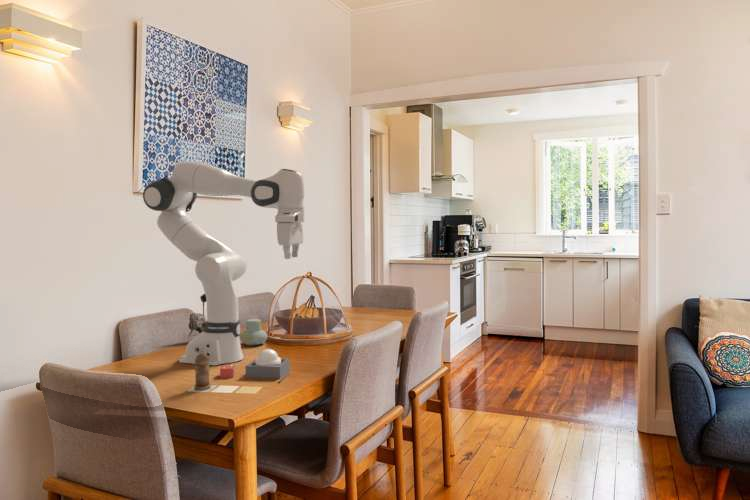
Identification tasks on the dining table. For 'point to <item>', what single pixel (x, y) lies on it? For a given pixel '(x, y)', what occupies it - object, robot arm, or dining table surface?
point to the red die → (227, 371)
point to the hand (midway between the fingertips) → (291, 258)
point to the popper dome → (268, 358)
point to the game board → (230, 389)
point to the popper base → (268, 370)
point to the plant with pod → (197, 319)
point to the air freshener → (253, 333)
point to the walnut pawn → (202, 372)
